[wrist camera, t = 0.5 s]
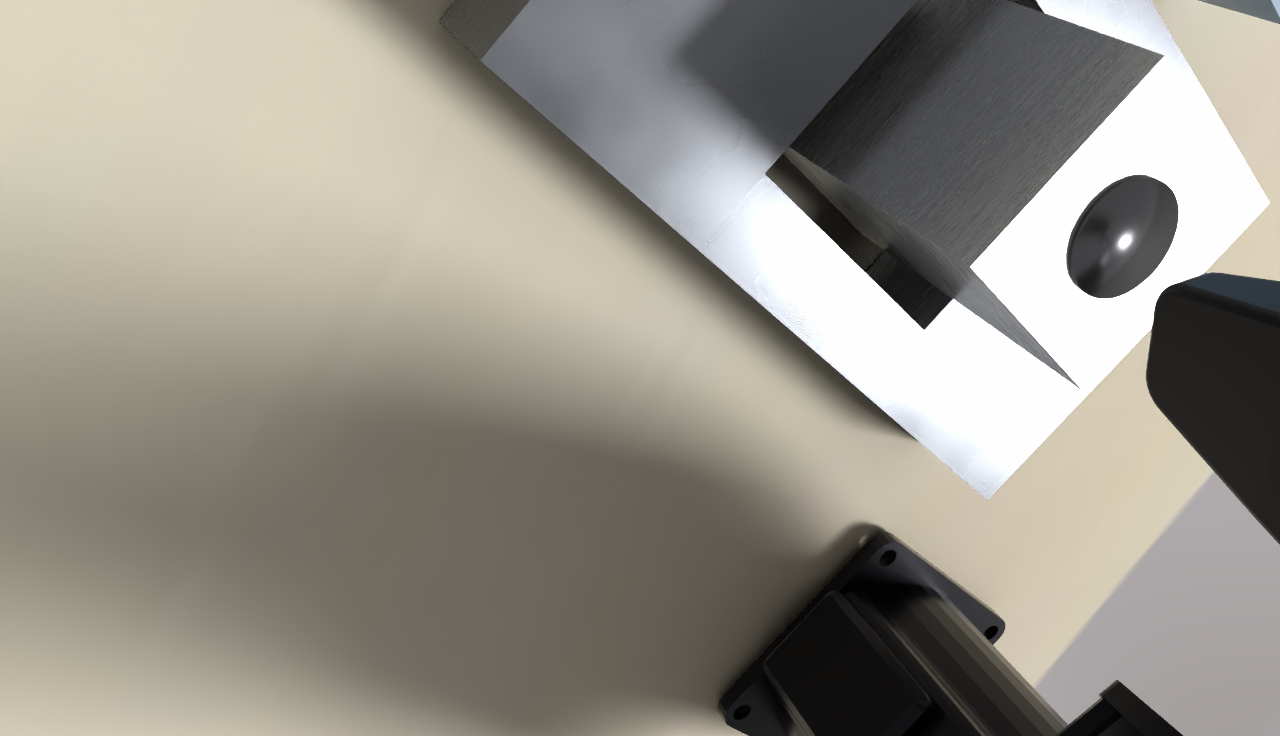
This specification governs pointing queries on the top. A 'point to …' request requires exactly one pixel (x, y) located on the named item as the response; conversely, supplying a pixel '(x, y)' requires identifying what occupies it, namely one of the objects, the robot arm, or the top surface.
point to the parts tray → (1252, 7)
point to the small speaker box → (1028, 174)
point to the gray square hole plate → (764, 215)
